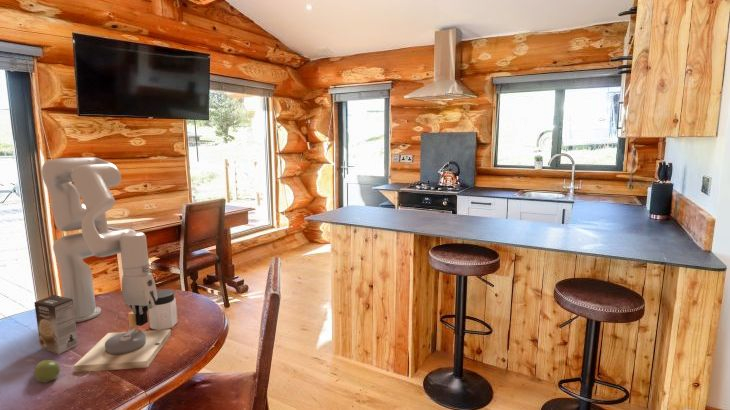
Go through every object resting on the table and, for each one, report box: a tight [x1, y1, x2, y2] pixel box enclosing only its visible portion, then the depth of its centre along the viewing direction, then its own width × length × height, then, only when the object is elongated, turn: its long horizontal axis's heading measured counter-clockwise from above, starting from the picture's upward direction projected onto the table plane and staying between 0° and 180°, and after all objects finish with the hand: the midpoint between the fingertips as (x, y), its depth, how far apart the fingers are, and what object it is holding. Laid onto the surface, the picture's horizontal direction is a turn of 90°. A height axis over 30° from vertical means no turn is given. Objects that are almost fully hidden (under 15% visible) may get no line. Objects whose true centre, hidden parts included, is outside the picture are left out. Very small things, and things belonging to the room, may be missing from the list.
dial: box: [105, 311, 146, 355], centre depth 129 cm, size 15×11×7 cm
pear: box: [33, 359, 61, 383], centre depth 115 cm, size 6×5×10 cm
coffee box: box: [34, 294, 79, 355], centre depth 130 cm, size 9×6×16 cm
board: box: [73, 328, 172, 373], centre depth 128 cm, size 20×20×2 cm
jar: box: [148, 289, 178, 330], centre depth 145 cm, size 9×8×12 cm
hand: (142, 323), depth 134 cm, fingers closed
